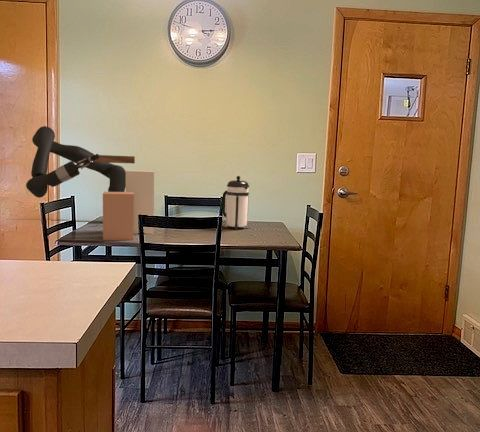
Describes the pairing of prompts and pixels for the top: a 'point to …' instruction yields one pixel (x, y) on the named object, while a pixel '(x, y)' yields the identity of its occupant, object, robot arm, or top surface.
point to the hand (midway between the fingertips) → (98, 155)
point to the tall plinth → (141, 194)
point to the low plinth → (118, 216)
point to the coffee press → (236, 203)
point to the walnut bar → (114, 159)
